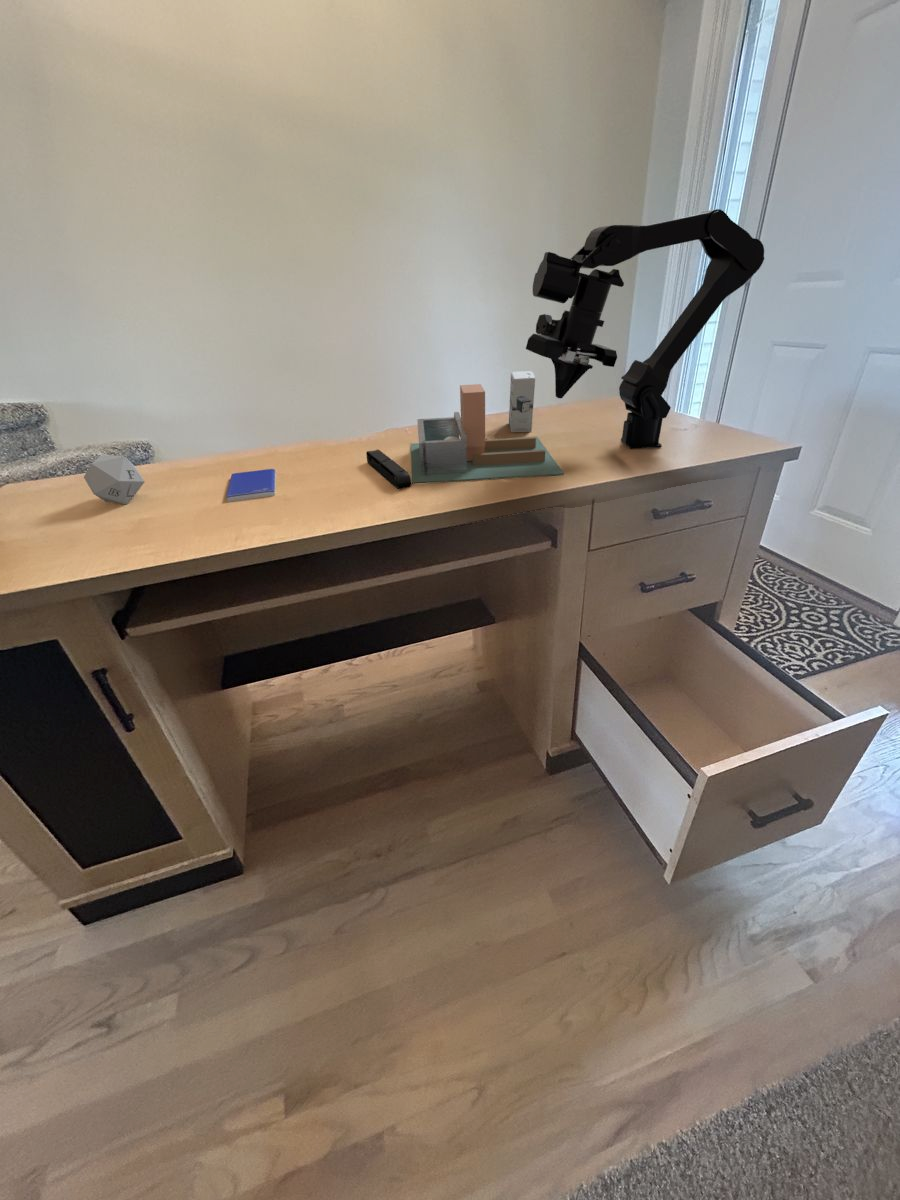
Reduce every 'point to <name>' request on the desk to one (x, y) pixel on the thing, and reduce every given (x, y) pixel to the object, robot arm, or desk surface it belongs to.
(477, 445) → the salmon orange block
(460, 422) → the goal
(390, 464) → the portable electronic device stand
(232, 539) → the desk surface
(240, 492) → the hard drive
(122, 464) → the die
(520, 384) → the ink box
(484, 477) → the plate
